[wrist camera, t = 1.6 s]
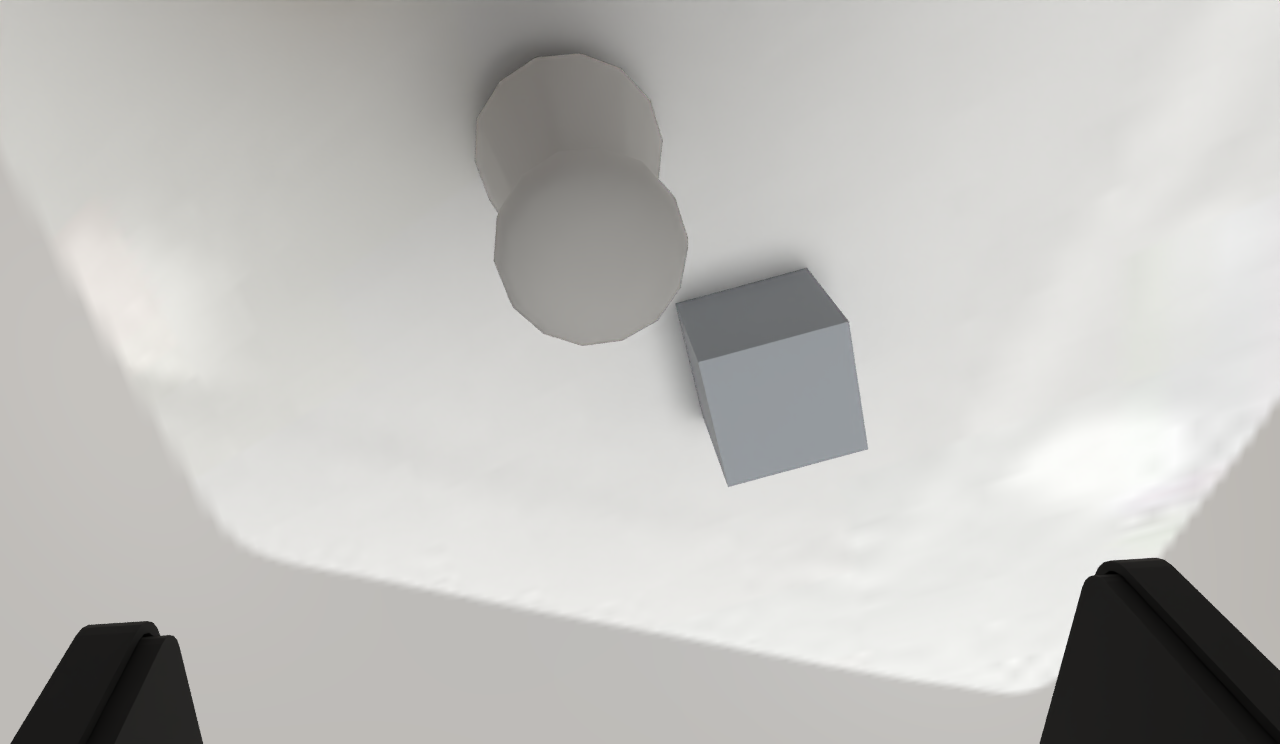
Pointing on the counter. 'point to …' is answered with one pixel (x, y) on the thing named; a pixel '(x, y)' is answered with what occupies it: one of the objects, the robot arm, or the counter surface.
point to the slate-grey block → (774, 375)
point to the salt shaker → (579, 199)
